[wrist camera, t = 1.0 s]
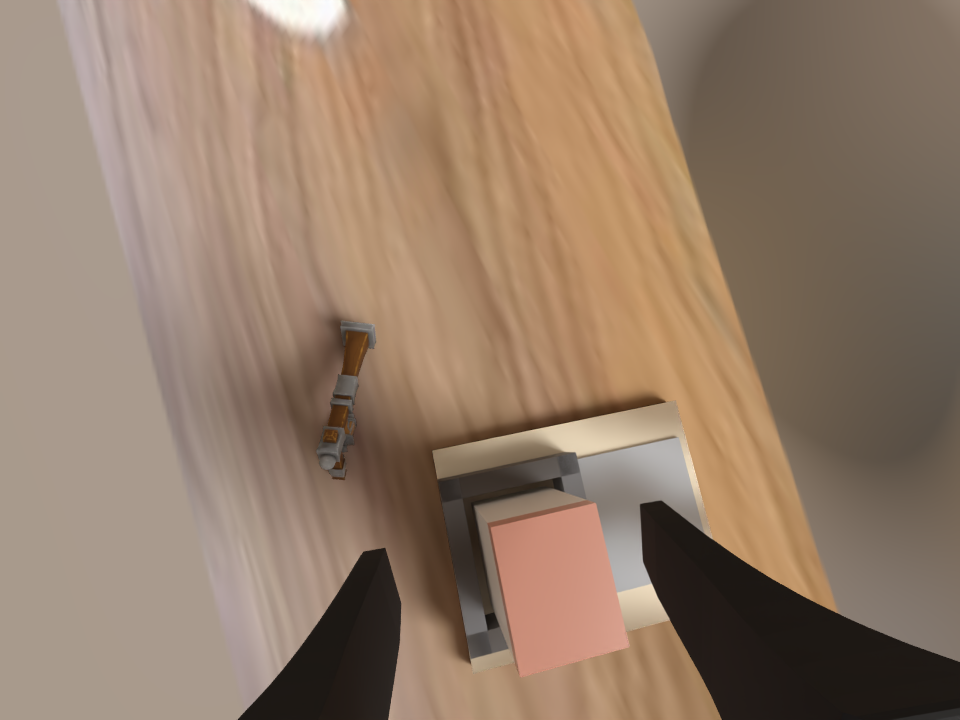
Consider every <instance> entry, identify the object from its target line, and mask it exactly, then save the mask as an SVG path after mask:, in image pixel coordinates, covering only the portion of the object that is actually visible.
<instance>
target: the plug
mask: <svg viewBox="0 0 960 720" xmlns="http://www.w3.org/2000/svg"><path fill="white" fill-rule="evenodd" d="M471 504H472V509H473V514H474V520H475V525H476V530H477V535H478V540H479V546H480V551H481V556H482V561H483V566H484V571H485V577H486V582H487V587H488V592H489V597H490V603H491V605H492V608H493V610H494V613H495V615H496V618H497V620H498V623H499V625H500V628H501V630H502V633H503V635H504V638H505V640H506V643H507V645H508V648H509V650H510V653H511V655H512V658H513V660H514V663H515V666H516V668H517V671H518V673H519V676H520V677H524V676H527V675H531V674H534V673H538V672H542V671H545V670H549V669H552V668H556V667H559V666H563V665H567V664H570V663H574V662H577V661H581V660H585V659H588V658H592V657H595V656H599V655H602V654H606V653H610V652H613V651H617V650H620V649H624V648H627V647H629V642H628V638H627V634H626V630H625V625H624V621H623V617H622V612H621V608H620V604H619V600H618V595H617V591H616V587H615V582H614V578H613V574H612V570H611V565H610V561H609V557H608V552H607V548H606V544H605V540H604V535H603V531H602V527H601V522H600V518H599V514H598V510H597V505H596V503H595V502H592V501H589V500H586V499H583V498H580V497H577V496H574V495H571V494H568V493H565V492H562V491H559V490H556V489H553V488H550V487H547V486H541V487H537V488H532V489H528V490H523V491H519V492H514V493H510V494H505V495H501V496H496V497H492V498H488V499H483V500H479V501H474V502H471Z"/></svg>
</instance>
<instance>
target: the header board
mask: <svg viewBox="0 0 960 720" xmlns="http://www.w3.org/2000/svg"><path fill="white" fill-rule="evenodd" d="M432 453H433V458H434V464H435V469H436V474H437V480H438V485H439V491H440V496H441V502H442V507H443V513H444V518H445V524H446V529H447V535H448V540H449V545H450V551H451V556H452V562H453V567H454V573H455V578H456V584H457V589H458V595H459V600H460V606H461V611H462V616H463V622H464V627H465V633H466V638H467V644H468V649H469V655H470V660H471V666H472V671H473V674H475V673H479V672H482V671H486V670H490V669H493V668H497V667H501V666H504V665H508V664H511V663H514V660H513V658H512V655H511V653H510V650H509V648H508V645H507V643H506V640H505V638H504V635H503V633H502V630H501V628H500V625H499V623H498V620H497V618H496V615H495V613H494V610H493V608H492V605H491V603H490V597H489V592H488V587H487V582H486V577H485V571H484V566H483V561H482V556H481V551H480V546H479V540H478V535H477V530H476V525H475V520H474V514H473V509H472V504H471V502H474V501H479V500H483V499H488V498H492V497H496V496H501V495H505V494H510V493H514V492H519V491H523V490H528V489H532V488H537V487H541V486H547V487H550V488H553V489H556V490H559V491H562V492H565V493H568V494H571V495H574V496H577V497H580V498H583V499H586V500H589V501H592V502H595V503H596V505H597V510H598V514H599V518H600V522H601V527H602V531H603V535H604V540H605V544H606V548H607V552H608V557H609V561H610V565H611V570H612V574H613V578H614V582H615V587H616V591H617V595H618V600H619V604H620V608H621V612H622V617H623V621H624V625H625V630H626V632H628V631H631V630H635V629H639V628H642V627H646V626H650V625H653V624H657V623H661V622H664V621H668V620H670V619H669V617H668V615H667V614H666V612H665V610H664V608H663V606H662V604H661V603H660V601H659V599H658V597H657V595H656V592H655V590H654V588H653V585H652V583H651V581H650V578H649V576H648V573H647V571H646V568H645V566H644V563H643V556H642V537H641V518H640V504H642V503H648V502H654V501H660V500H662V501H663V502H664V503H666V504H667V505H668V506H670V507H671V508H672V509H674V510H675V511H676V512H677V513H679V514H680V515H681V516H682V517H684V518H685V519H686V520H688V521H689V522H690V523H691V524H693V525H694V526H695V527H697V528H698V529H699V530H701V531H702V532H703V533H705V534H706V535H707V536H709V537H710V538H711V539H713V537H712V534H711V530H710V526H709V522H708V519H707V515H706V511H705V508H704V504H703V500H702V496H701V493H700V489H699V485H698V481H697V478H696V474H695V470H694V466H693V463H692V459H691V455H690V452H689V448H688V444H687V440H686V437H685V433H684V429H683V425H682V422H681V418H680V414H679V411H678V407H677V403H676V401H670V402H665V403H660V404H656V405H651V406H646V407H641V408H636V409H631V410H627V411H622V412H617V413H612V414H607V415H602V416H597V417H593V418H588V419H583V420H578V421H573V422H568V423H563V424H559V425H554V426H549V427H544V428H539V429H534V430H530V431H525V432H520V433H515V434H510V435H505V436H500V437H496V438H491V439H486V440H481V441H476V442H471V443H466V444H462V445H457V446H452V447H447V448H442V449H437V450H433V451H432Z"/></svg>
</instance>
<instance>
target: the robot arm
mask: <svg viewBox="0 0 960 720" xmlns="http://www.w3.org/2000/svg"><path fill="white" fill-rule="evenodd" d="M640 518H641V537H642V556H643V563H644V566H645V568H646V571H647V573H648V576H649V578H650V581H651V583H652V585H653V588H654V590H655V592H656V595H657V597H658V599H659V601H660V603H661V604H662V606H663V608H664V610H665V612H666V614H667V615H668V617H669V619H670V621H671V623H672V625H673V626H674V628H675V630H676V632H677V634H678V635H679V637H680V639H681V641H682V643H683V644H684V646H685V648H686V650H687V652H688V653H689V655H690V657H691V659H692V661H693V662H694V664H695V666H696V668H697V670H698V671H699V673H700V675H701V677H702V679H703V681H704V683H705V685H706V687H707V688H708V690H709V692H710V694H711V696H712V699H713V701H714V703H715V705H716V707H717V710H718V712H719V714H720V716H721V719H722V720H960V662H958V661H955V660H952V659H949V658H946V657H943V656H941V655H938V654H935V653H932V652H930V651H927V650H924V649H921V648H918V647H915V646H913V645H910V644H907V643H905V642H902V641H900V640H897V639H895V638H892V637H890V636H888V635H885V634H883V633H880V632H878V631H875V630H873V629H871V628H868V627H866V626H864V625H861V624H859V623H857V622H855V621H852V620H850V619H848V618H846V617H844V616H842V615H840V614H838V613H835V612H833V611H831V610H829V609H827V608H825V607H823V606H821V605H819V604H817V603H815V602H813V601H811V600H809V599H807V598H805V597H803V596H801V595H800V594H798V593H796V592H794V591H792V590H791V589H789V588H787V587H785V586H784V585H782V584H780V583H778V582H776V581H775V580H773V579H771V578H770V577H768V576H766V575H765V574H763V573H761V572H760V571H758V570H757V569H755V568H753V567H752V566H750V565H749V564H747V563H746V562H744V561H743V560H741V559H740V558H738V557H737V556H735V555H734V554H732V553H731V552H729V551H728V550H727V549H725V548H724V547H722V546H721V545H720V544H718V543H717V542H715V541H714V540H713V539H711V538H710V537H709V536H707V535H706V534H705V533H703V532H702V531H701V530H699V529H698V528H697V527H695V526H694V525H693V524H691V523H690V522H689V521H688V520H686V519H685V518H684V517H682V516H681V515H680V514H679V513H677V512H676V511H675V510H674V509H672V508H671V507H670V506H668V505H667V504H666V503H664V502H663V501H662V500H660V501H654V502H648V503H642V504H640ZM400 626H401V601H400V597H399V594H398V590H397V587H396V584H395V580H394V577H393V573H392V570H391V566H390V563H389V559H388V556H387V553H386V549H385V548H382V549H376V550H370V551H365V552H363V553H362V555H361V556H360V558H359V559H358V561H357V562H356V564H355V566H354V567H353V569H352V571H351V572H350V574H349V576H348V577H347V579H346V581H345V582H344V584H343V585H342V587H341V589H340V590H339V592H338V593H337V595H336V596H335V598H334V600H333V601H332V603H331V604H330V606H329V607H328V609H327V610H326V612H325V613H324V615H323V616H322V618H321V619H320V621H319V622H318V624H317V625H316V626H315V628H314V629H313V630H312V632H311V633H310V635H309V636H308V637H307V639H306V640H305V642H304V643H303V644H302V646H301V647H300V648H299V650H298V651H297V652H296V654H295V655H294V656H293V658H292V659H291V660H290V661H289V663H288V664H287V665H286V666H285V668H284V669H283V670H282V671H281V672H280V674H279V675H278V676H277V677H276V678H275V680H274V681H273V682H272V683H271V684H270V685H269V687H268V688H267V689H266V690H265V691H264V692H263V693H262V694H261V695H260V696H259V697H258V698H257V700H256V701H255V702H254V703H253V704H252V705H251V706H250V707H249V708H248V709H247V710H246V711H245V712H244V713H243V714H242V715H241V717H240V718H239V719H238V720H388V717H389V710H390V704H391V697H392V691H393V684H394V678H395V671H396V664H397V657H398V651H399V643H400Z"/></svg>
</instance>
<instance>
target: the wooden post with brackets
mask: <svg viewBox="0 0 960 720" xmlns="http://www.w3.org/2000/svg"><path fill="white" fill-rule="evenodd" d="M340 328H341V334H342V340H343V346H345V353H344V362H343V368H342V373H341V375H339V374H338V380H337V384H336V387H335V390H334V392H333V397H334V398H331V402H330V404H331V409H332V410H331V414H330V418H329V421H328V425H327V426H323V433H322V436H321V440H320V443H319V446H318V448H317V450H316V452H317V455H318V458H319V460H320V461H319V464H320V466H321V468H323V469H325V470H329V474H330V475H331V476H332V479H339V480H345V475H346V459H345V458H344V455H343V454H342V453H343V452H347V445H354V438H353V433H354V429H355V427H356V425H357V424H356V418H354V414H353V413H352V411H353V405H354V402H355V395H356V391H357V389H358V374H359V371H360V368H361V365H362V362H363V359H364V356H365V354H366V351H367V349H368V348H370V349H374V346H375V343H376V335H375V324H366V323H358V322H349V321H341V326H340Z"/></svg>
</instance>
